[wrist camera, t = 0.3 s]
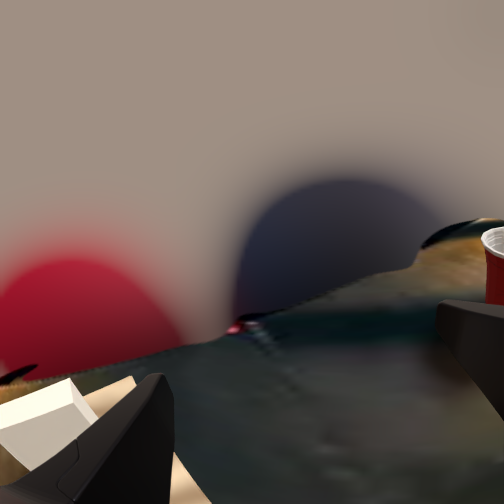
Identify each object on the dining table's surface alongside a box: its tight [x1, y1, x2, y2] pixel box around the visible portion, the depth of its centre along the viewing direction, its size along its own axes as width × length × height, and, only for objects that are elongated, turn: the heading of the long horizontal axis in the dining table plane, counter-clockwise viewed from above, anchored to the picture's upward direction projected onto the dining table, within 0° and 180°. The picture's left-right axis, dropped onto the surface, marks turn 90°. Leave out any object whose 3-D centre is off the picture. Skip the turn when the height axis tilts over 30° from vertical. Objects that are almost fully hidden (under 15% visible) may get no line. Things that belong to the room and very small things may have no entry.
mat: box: [83, 376, 212, 504], centre depth 17 cm, size 22×14×1 cm, turn 37°
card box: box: [0, 378, 99, 471], centre depth 12 cm, size 2×7×12 cm, turn 127°
